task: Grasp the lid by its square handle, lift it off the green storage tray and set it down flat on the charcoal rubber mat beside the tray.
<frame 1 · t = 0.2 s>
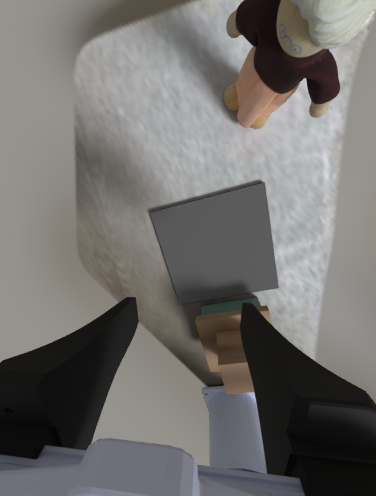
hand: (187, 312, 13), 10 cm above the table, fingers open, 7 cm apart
grandmother figurine: (253, 107, 17), on the table
lid: (236, 338, 23), point 2 cm above the table, touching green storage tray
mat: (216, 250, 22), on the table
green storage tray: (233, 323, 25), on the table
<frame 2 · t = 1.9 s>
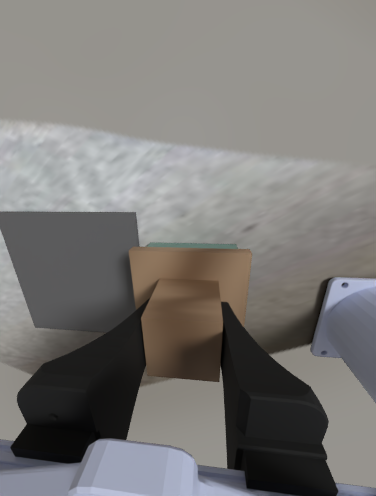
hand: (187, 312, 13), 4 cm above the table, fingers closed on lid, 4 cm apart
lid: (189, 297, 14), point 2 cm above the table, touching green storage tray, gripper
mat: (79, 276, 18), on the table
green storage tray: (192, 281, 17), on the table
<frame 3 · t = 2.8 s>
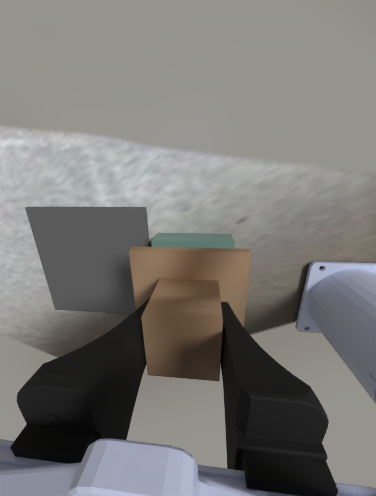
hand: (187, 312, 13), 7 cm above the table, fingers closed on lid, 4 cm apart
lid: (189, 297, 14), point 5 cm above the table, touching gripper
mat: (96, 263, 20), on the table
green storage tray: (193, 266, 19), on the table
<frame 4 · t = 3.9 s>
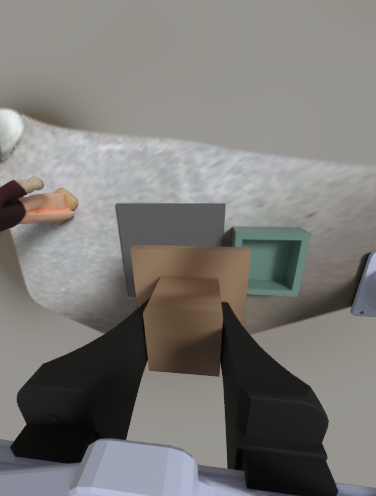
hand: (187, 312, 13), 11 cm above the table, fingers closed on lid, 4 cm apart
grandmother figurine: (65, 203, 22), on the table
lid: (190, 295, 15), point 9 cm above the table, touching gripper
mat: (171, 254, 23), on the table
green storage tray: (261, 256, 22), on the table
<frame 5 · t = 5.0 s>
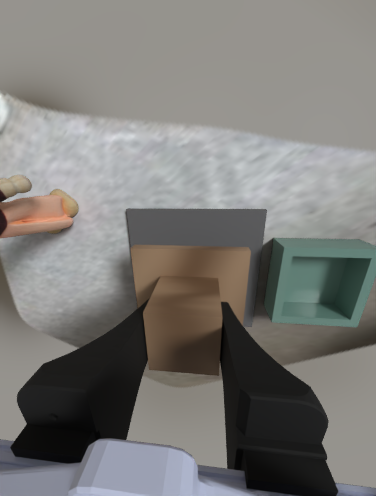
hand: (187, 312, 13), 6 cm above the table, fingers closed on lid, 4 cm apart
grandmother figurine: (62, 208, 18), on the table
lid: (190, 294, 15), point 4 cm above the table, touching gripper
mat: (194, 270, 19), on the table
green storage tray: (307, 274, 18), on the table
when the fingers open (4 cm above the table, at t = 5.9 s): lid drops 1 cm, resting on mat.
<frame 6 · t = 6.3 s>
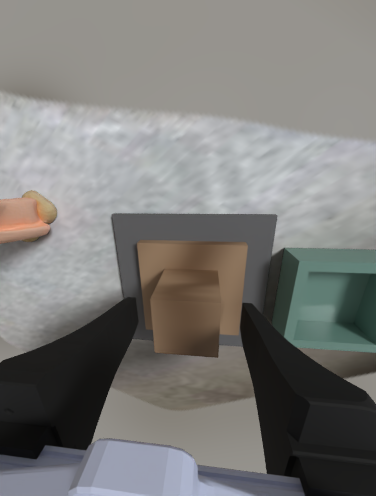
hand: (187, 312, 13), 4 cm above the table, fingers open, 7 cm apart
grandmother figurine: (39, 212, 15), on the table
lid: (191, 286, 16), resting on mat
mat: (191, 284, 16), on the table
green storage tray: (323, 290, 15), on the table
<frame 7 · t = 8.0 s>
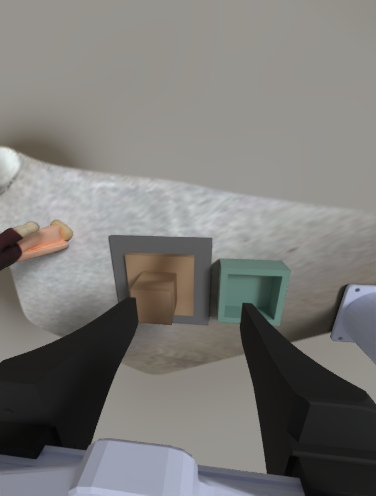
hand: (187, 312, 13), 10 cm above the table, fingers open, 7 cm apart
grandmother figurine: (60, 233, 23), on the table
lid: (161, 283, 24), resting on mat
mat: (162, 281, 24), on the table
green storage tray: (247, 286, 23), on the table
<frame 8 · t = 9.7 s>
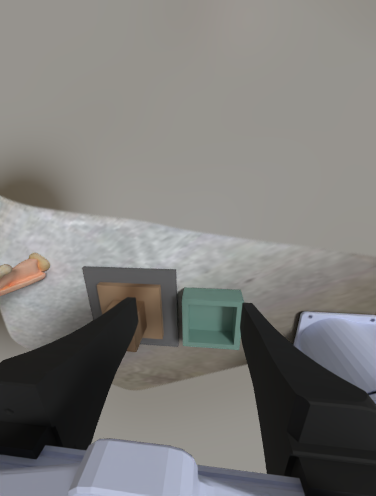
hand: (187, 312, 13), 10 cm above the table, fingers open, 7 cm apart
grandmother figurine: (39, 264, 25), on the table
lid: (133, 309, 26), resting on mat
mat: (134, 307, 26), on the table
green storage tray: (211, 311, 25), on the table
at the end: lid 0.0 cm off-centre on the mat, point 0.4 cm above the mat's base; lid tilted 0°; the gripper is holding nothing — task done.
